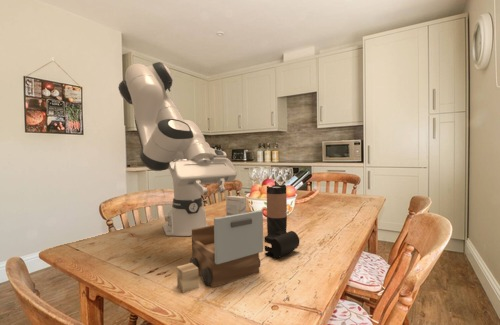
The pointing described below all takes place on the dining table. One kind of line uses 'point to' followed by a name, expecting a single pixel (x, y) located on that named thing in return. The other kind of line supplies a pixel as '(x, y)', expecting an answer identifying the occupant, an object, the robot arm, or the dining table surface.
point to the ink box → (235, 205)
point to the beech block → (187, 277)
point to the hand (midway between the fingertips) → (213, 192)
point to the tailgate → (238, 236)
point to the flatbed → (225, 271)
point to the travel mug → (276, 209)
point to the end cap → (281, 243)
